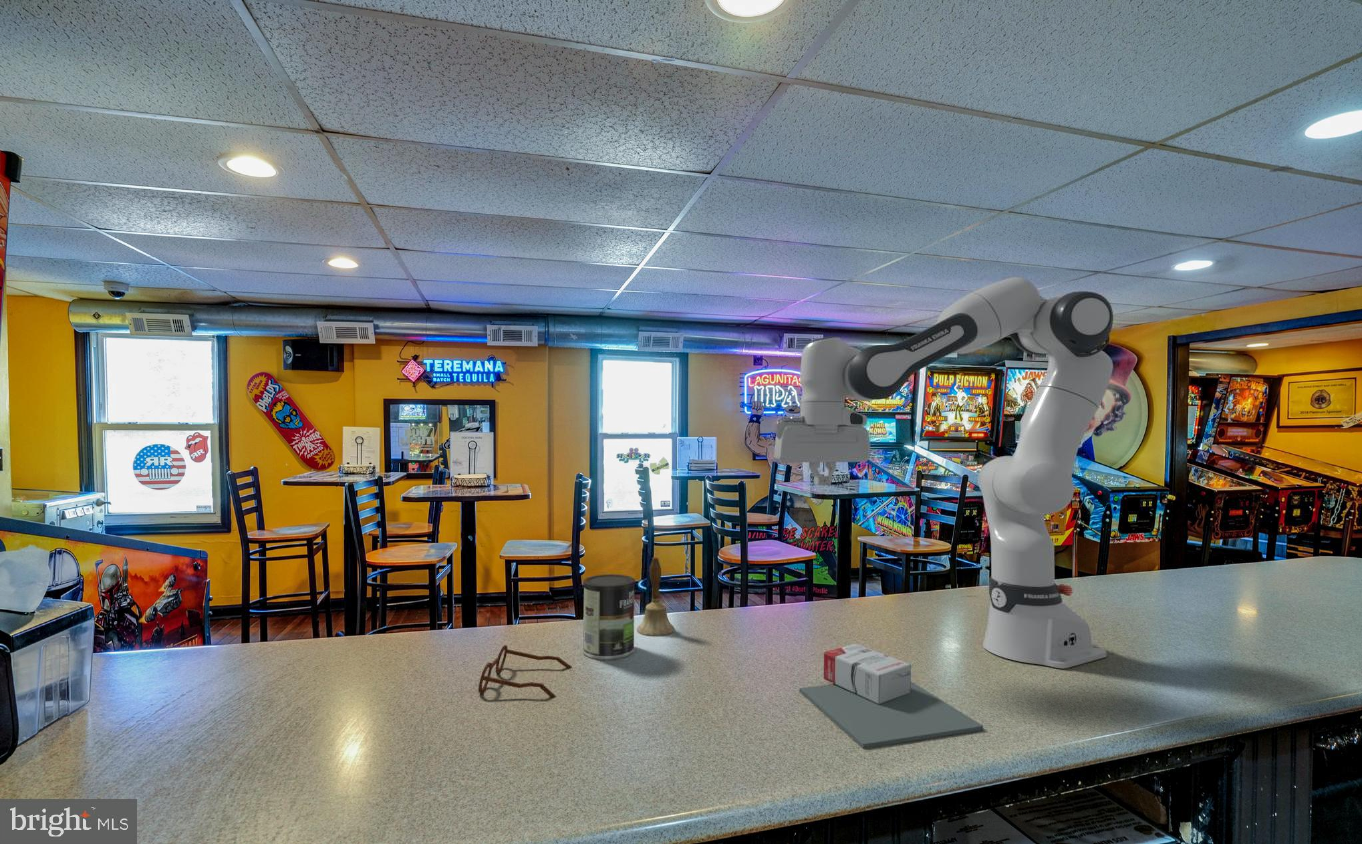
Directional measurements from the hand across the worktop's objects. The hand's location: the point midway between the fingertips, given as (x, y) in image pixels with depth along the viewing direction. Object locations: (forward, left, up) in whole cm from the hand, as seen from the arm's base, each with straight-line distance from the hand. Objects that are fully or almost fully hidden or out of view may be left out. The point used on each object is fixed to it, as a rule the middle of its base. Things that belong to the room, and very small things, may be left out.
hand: (822, 484), depth 122 cm
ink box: (+5, +14, -30) cm, 34 cm away
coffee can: (+42, -10, -33) cm, 55 cm away
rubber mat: (+4, +27, -33) cm, 43 cm away
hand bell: (+30, -20, -33) cm, 49 cm away
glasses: (+58, +1, -34) cm, 67 cm away
